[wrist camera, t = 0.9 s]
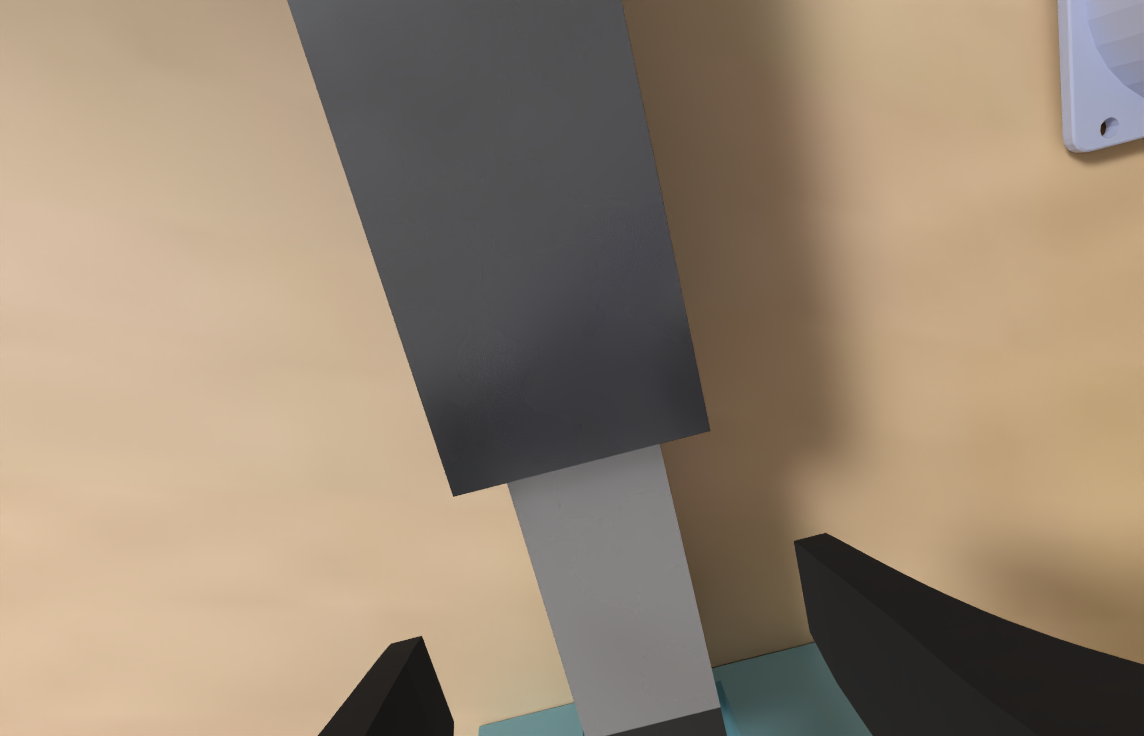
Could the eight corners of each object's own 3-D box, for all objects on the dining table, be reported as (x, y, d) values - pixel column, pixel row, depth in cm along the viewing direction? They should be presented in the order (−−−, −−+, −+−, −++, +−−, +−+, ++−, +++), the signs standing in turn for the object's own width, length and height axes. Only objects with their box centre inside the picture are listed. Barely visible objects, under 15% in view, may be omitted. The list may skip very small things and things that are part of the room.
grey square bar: (551, 41, 15) (555, -8, 12) (694, 643, 20) (727, 737, 16) (410, 79, 15) (371, 41, 12) (585, 671, 20) (595, 769, 16)
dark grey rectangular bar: (538, -182, 15) (537, -405, 9) (659, 365, 18) (710, 431, 13) (313, -121, 15) (184, -308, 9) (478, 412, 18) (453, 497, 13)
